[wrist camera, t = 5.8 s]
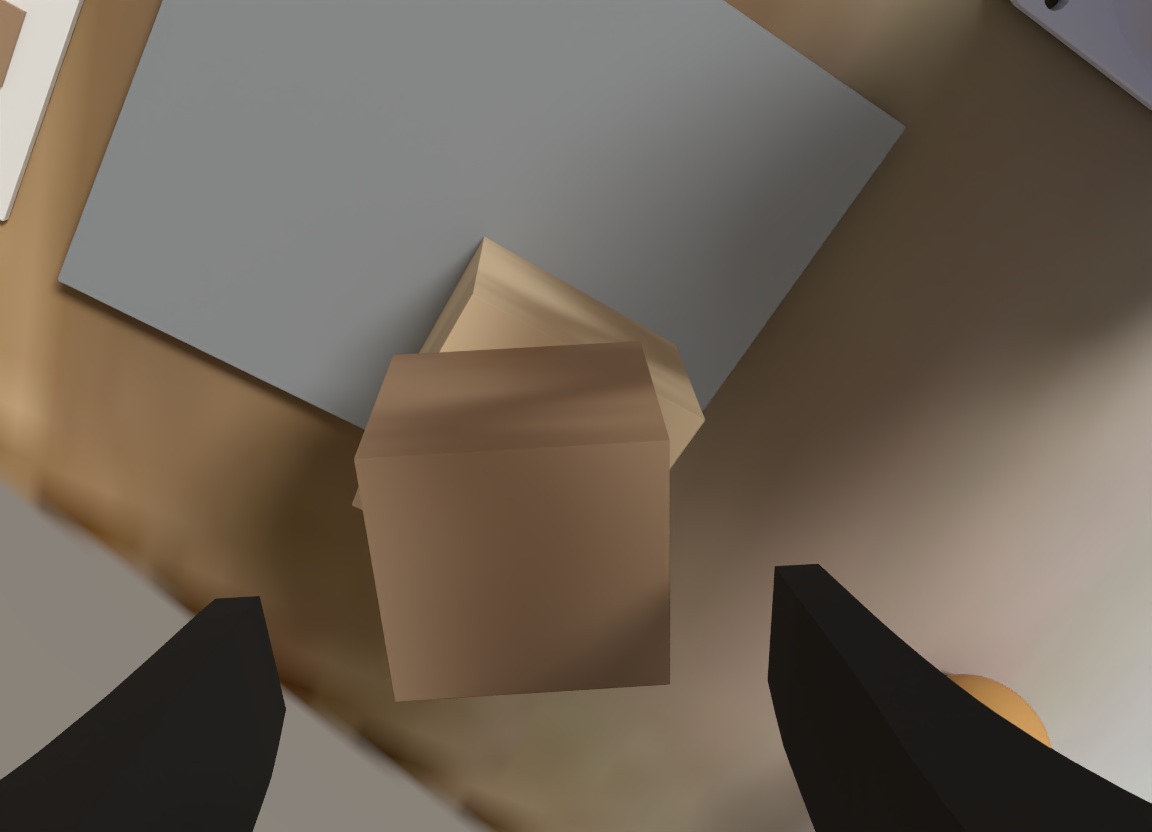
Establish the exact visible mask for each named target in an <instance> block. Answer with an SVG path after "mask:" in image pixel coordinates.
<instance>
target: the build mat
mask: <svg viewBox="0 0 1152 832" xmlns="http://www.w3.org/2000/svg"><path fill="white" fill-rule="evenodd" d="M905 128H906V126H904V125H903V124H901V123H900V122H899V121H897V120H896V119H894V118H893V117H891V116H890V115H888V114H887V113H885V112H884V111H883V110H881V109H880V108H878V107H877V106H875V105H874V104H872V103H871V102H870V101H868V100H867V99H865V98H864V97H862V96H861V95H859V94H858V93H857V92H855V91H854V90H852V89H851V88H849V87H848V86H846V85H845V84H844V83H842V82H841V81H839V80H838V79H836V78H835V77H833V76H832V75H831V74H829V73H828V72H826V71H825V70H823V69H822V68H820V67H819V66H818V65H816V64H815V63H813V62H812V61H810V60H809V59H807V58H806V57H805V56H803V55H802V54H800V53H799V52H797V51H796V50H794V49H793V48H792V47H790V46H789V45H787V44H786V43H784V42H783V41H781V40H780V39H779V38H777V37H776V36H774V35H773V34H771V33H770V32H768V31H767V30H766V29H764V28H763V27H761V26H760V25H758V24H757V23H755V22H754V21H752V20H751V19H750V18H748V17H747V16H745V15H744V14H742V13H741V12H739V11H738V10H737V9H735V8H734V7H732V6H731V5H729V4H728V3H726V2H725V1H724V0H163V1H162V4H161V7H160V9H159V12H158V15H157V17H156V20H155V23H154V25H153V28H152V31H151V33H150V36H149V39H148V41H147V44H146V46H145V49H144V52H143V54H142V57H141V60H140V62H139V65H138V68H137V70H136V73H135V76H134V78H133V81H132V84H131V86H130V89H129V92H128V94H127V97H126V99H125V102H124V105H123V107H122V110H121V113H120V115H119V118H118V121H117V123H116V126H115V129H114V131H113V134H112V137H111V139H110V142H109V145H108V147H107V150H106V152H105V155H104V158H103V160H102V163H101V166H100V168H99V171H98V174H97V176H96V179H95V182H94V184H93V187H92V190H91V192H90V195H89V198H88V200H87V203H86V205H85V208H84V211H83V213H82V216H81V219H80V221H79V224H78V227H77V229H76V232H75V235H74V237H73V240H72V243H71V245H70V248H69V251H68V253H67V256H66V258H65V261H64V264H63V266H62V269H61V272H60V274H59V277H58V281H60V282H62V283H64V284H66V285H68V286H70V287H72V288H74V289H76V290H78V291H81V292H83V293H85V294H87V295H89V296H91V297H93V298H95V299H97V300H99V301H101V302H103V303H105V304H107V305H109V306H111V307H113V308H115V309H118V310H120V311H122V312H124V313H126V314H128V315H130V316H132V317H134V318H136V319H138V320H140V321H142V322H144V323H146V324H148V325H150V326H152V327H154V328H157V329H159V330H161V331H163V332H165V333H167V334H169V335H171V336H173V337H175V338H177V339H179V340H181V341H183V342H185V343H187V344H189V345H191V346H194V347H196V348H198V349H200V350H202V351H204V352H206V353H208V354H210V355H212V356H214V357H216V358H218V359H220V360H222V361H224V362H226V363H228V364H230V365H233V366H235V367H237V368H239V369H241V370H243V371H245V372H247V373H249V374H251V375H253V376H255V377H257V378H259V379H261V380H263V381H265V382H267V383H269V384H272V385H274V386H276V387H278V388H280V389H282V390H284V391H286V392H288V393H290V394H292V395H294V396H296V397H298V398H300V399H302V400H304V401H306V402H309V403H311V404H313V405H315V406H317V407H319V408H321V409H323V410H325V411H327V412H329V413H331V414H333V415H335V416H337V417H339V418H341V419H343V420H345V421H348V422H350V423H352V424H354V425H356V426H358V427H360V428H362V429H364V430H365V428H366V426H367V423H368V421H369V418H370V415H371V413H372V410H373V407H374V405H375V402H376V399H377V397H378V394H379V392H380V389H381V386H382V384H383V381H384V378H385V376H386V373H387V371H388V368H389V365H390V363H391V360H392V357H393V355H401V354H419V352H420V350H421V348H422V346H423V345H424V343H425V341H426V339H427V338H428V336H429V334H430V332H431V330H432V329H433V327H434V325H435V323H436V322H437V320H438V318H439V316H440V314H441V313H442V311H443V309H444V307H445V306H446V304H447V302H448V300H449V298H450V297H451V295H452V293H453V291H454V290H455V288H456V286H457V284H458V282H459V281H460V279H461V277H462V275H463V274H464V272H465V270H466V268H467V266H468V265H469V263H470V261H471V259H472V257H473V256H474V254H475V252H476V250H477V249H478V247H479V245H480V243H481V241H482V240H483V238H484V237H486V238H488V239H490V240H491V241H493V242H495V243H497V244H498V245H500V246H502V247H504V248H506V249H507V250H509V251H511V252H513V253H514V254H516V255H518V256H520V257H521V258H523V259H525V260H527V261H529V262H530V263H532V264H534V265H536V266H537V267H539V268H541V269H543V270H544V271H546V272H548V273H550V274H551V275H553V276H555V277H557V278H559V279H560V280H562V281H564V282H566V283H567V284H569V285H571V286H573V287H574V288H576V289H578V290H580V291H581V292H583V293H585V294H587V295H589V296H590V297H592V298H594V299H596V300H597V301H599V302H601V303H603V304H604V305H606V306H608V307H610V308H611V309H613V310H615V311H617V312H619V313H620V314H622V315H624V316H626V317H627V318H629V319H631V320H633V321H634V322H636V323H638V324H640V325H642V326H643V327H645V328H647V329H649V330H650V331H652V332H654V333H656V334H657V335H659V336H661V337H663V338H664V339H666V340H668V341H670V342H672V343H673V344H675V345H676V347H677V349H678V352H679V354H680V357H681V359H682V362H683V364H684V367H685V370H686V372H687V375H688V377H689V380H690V382H691V385H692V388H693V390H694V393H695V395H696V398H697V400H698V403H699V406H700V408H701V411H702V412H703V411H704V409H705V408H706V406H707V405H708V404H709V402H710V401H711V399H712V398H713V397H714V395H715V394H716V392H717V391H718V390H719V388H720V387H721V385H722V384H723V383H724V381H725V380H726V378H727V377H728V376H729V374H730V373H731V371H732V370H733V369H734V367H735V366H736V364H737V363H738V362H739V360H740V359H741V357H742V356H743V355H744V353H745V352H746V351H747V349H748V348H749V346H750V345H751V344H752V342H753V341H754V339H755V338H756V337H757V335H758V334H759V332H760V331H761V330H762V328H763V327H764V325H765V324H766V323H767V321H768V320H769V318H770V317H771V316H772V314H773V313H774V311H775V310H776V309H777V307H778V306H779V304H780V303H781V302H782V300H783V299H784V297H785V296H786V295H787V293H788V292H789V290H790V289H791V288H792V286H793V285H794V283H795V282H796V281H797V279H798V278H799V276H800V275H801V274H802V272H803V271H804V270H805V268H806V267H807V265H808V264H809V263H810V261H811V260H812V258H813V257H814V256H815V254H816V253H817V251H818V250H819V249H820V247H821V246H822V244H823V243H824V242H825V240H826V239H827V237H828V236H829V235H830V233H831V232H832V230H833V229H834V228H835V226H836V225H837V223H838V222H839V221H840V219H841V218H842V216H843V215H844V214H845V212H846V211H847V209H848V208H849V207H850V205H851V204H852V202H853V201H854V200H855V198H856V197H857V195H858V194H859V193H860V191H861V190H862V189H863V187H864V186H865V184H866V183H867V182H868V180H869V179H870V177H871V176H872V175H873V173H874V172H875V170H876V169H877V168H878V166H879V165H880V163H881V162H882V161H883V159H884V158H885V156H886V155H887V154H888V152H889V151H890V149H891V148H892V147H893V145H894V144H895V142H896V141H897V140H898V138H899V137H900V135H901V134H902V133H903V131H904V130H905Z"/></svg>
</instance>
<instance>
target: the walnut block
mask: <svg viewBox="0 0 1152 832" xmlns="http://www.w3.org/2000/svg"><path fill="white" fill-rule="evenodd" d="M354 462H355V468H356V474H357V479H358V485H359V491H360V497H361V503H362V509H363V515H364V521H365V527H366V533H367V538H368V544H369V550H370V556H371V562H372V568H373V574H374V580H375V586H376V592H377V597H378V603H379V609H380V615H381V621H382V627H383V633H384V639H385V645H386V651H387V656H388V662H389V668H390V674H391V680H392V686H393V692H394V698H395V702H399V701H415V700H430V699H446V698H462V697H478V696H494V695H509V694H525V693H541V692H557V691H573V690H589V689H604V688H620V687H636V686H652V685H668V684H670V439H669V436H668V432H667V429H666V426H665V422H664V419H663V416H662V412H661V409H660V405H659V402H658V399H657V395H656V392H655V388H654V385H653V382H652V378H651V375H650V371H649V368H648V365H647V361H646V358H645V355H644V351H643V348H642V344H641V341H631V342H613V343H596V344H578V345H560V346H543V347H525V348H507V349H490V350H472V351H454V352H437V353H419V354H401V355H393V357H392V360H391V363H390V365H389V368H388V371H387V373H386V376H385V378H384V381H383V384H382V386H381V389H380V392H379V394H378V397H377V399H376V402H375V405H374V407H373V410H372V413H371V415H370V418H369V421H368V423H367V426H366V428H365V431H364V434H363V436H362V439H361V442H360V444H359V447H358V449H357V452H356V455H355V457H354Z"/></svg>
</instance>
